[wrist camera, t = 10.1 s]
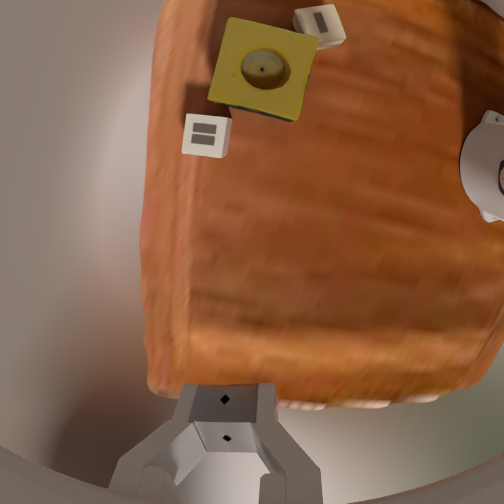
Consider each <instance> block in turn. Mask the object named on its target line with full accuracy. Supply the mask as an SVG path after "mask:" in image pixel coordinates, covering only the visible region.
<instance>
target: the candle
mask: <svg viewBox="0 0 504 504" xmlns="http://www.w3.org/2000/svg"><path fill="white" fill-rule="evenodd" d="M318 42H319V39H318V38H317V37H315V36H312V35H308V34H302V33H296V32H292V31H289V30H286V29H282V28H278V27H275V26H269V25H265V24H261V23H257V22H253V21H250V20H245V19H240V18H235V17H229V18H228V21H227V23H226V27H225V32H224V35H223V39H222V43H221V48H220V52H219V55H218V59H217V63H216V67H215V70H214V74H213V78H212V82H211V85H210V88H209V92H208V98H207V100H211V101H213V102H215V103H217V104H220V105H223V106H228V107H232V108H237V109H242V110H246V111H251V112H254V113H258V114H261V115H265V116H269V117H275V118H278V119H282V120H285V121H288V122H292V121H297V120H298V118H299V115H300V111H301V107H302V101H303V95H304V91H305V89H306V84H307V80H308V79H309V76H310V75H309V72H310V68H311V64H312V61H313V58H314V56H315V53H316V49H317V46H318Z"/></svg>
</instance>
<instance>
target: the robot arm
mask: <svg viewBox="0 0 504 504" xmlns="http://www.w3.org/2000/svg"><path fill="white" fill-rule="evenodd" d="M495 119H496V120H495ZM460 174H461V180H462V184H463V187H464V189H465V192H466V194H467V195H468V197H469V198H470V200H471V201H472V202H473V203H474V204H475V205H476V206H477V207H478V208H479V210H480V213H481V215H482V218H483V219H484V220H485V221H487V222H493V221H496V220H499V219H500V220H502V221H504V116H503V115H501V114H499V113H497V112H495V111H492V110H487V111H486V112H485V114H484V116H483V118H482V121H481V123H480V124H479V125H478V126H477V127H475V128H474V129H473V130H472V131H471V132H470V134H469V135H468V137H467V138H466V140H465V142H464V145H463V148H462V152H461V158H460ZM206 451H208V452H209V451H211V452H257V454H258V455H259V457H260V458H261V460H262V461H263V463H264V464H265V466H266V467H267V468H268V470H269V472H270V474H264V475H263V476H262V477H261V479H260V492H259V504H323V497H322V485H321V472H320V469H319V467H318V466H317V465H316V464H315V463H314V462H313V461H312V460H311V459H310V457H309V456H308V455H307V454H306V453H305V452H304V451H303V450H302V448H301V447H300V446H299V445H298V444H297V443H296V442H295V440H294V439H293V438H292V437H291V436H290V435H289V433H288V432H287V431H286V430H285V429H284V428H283V426H282V425H281V424H280V423H279V422H278V410H277V398H276V388H275V383H256V384H231V385H209V384H184V386H183V387H182V390H181V393H180V396H179V399H178V403H177V406H176V409H175V413H174V416H173V419H172V421H171V420H168V421H166V422H165V423H164V424H163V425H162V426H160V427H159V428H158V429H157V430H156V431H154V432H153V433H152V434H151V435H149V436H148V437H147V438H145V439H144V440H143V441H142V442H140V443H139V444H138V445H136V446H135V447H134V448H133V449H131V450H130V451H129V452H127V453H126V454H125V455H123V456H122V457H121V458H120V459H119V461H118V464H117V466H116V469H115V472H114V474H113V477H112V480H111V482H110V485H109V488H108V489H104V488H101V487H98V486H95V485H92V484H88V483H86V482H82V481H79V480H77V479H74V478H71V477H68V476H66V475H63V474H61V473H58V472H55V471H53V470H51V469H48V468H46V467H43V466H41V465H39V464H36V463H34V462H32V461H30V460H28V459H26V458H24V457H22V456H20V455H17V454H16V453H14V452H12V451H10V450H8V449H6V448H4V447H2V446H0V504H187V502H188V499H187V497H186V496H185V495H184V494H183V493H182V492H181V490H180V489H179V488H178V487H177V485H178V484H179V483H180V482H181V481H182V480H183V479H184V478H185V477H186V476H187V474H188V473H189V472H190V471H191V470H192V469H193V468H194V467H195V466H196V464H198V462H199V461H200V460H201V459H202V458H203V457H204V456H205V454H206V453H207V452H206ZM348 504H504V453H503V454H501V455H499V456H497V457H495V458H493V459H491V460H489V461H487V462H485V463H483V464H480V465H478V466H476V467H473V468H471V469H469V470H467V471H464V472H461V473H459V474H456V475H454V476H451V477H448V478H446V479H443V480H440V481H437V482H434V483H431V484H428V485H425V486H422V487H418V488H415V489H412V490H408V491H404V492H401V493H397V494H393V495H389V496H384V497H380V498H376V499H370V500H366V501H360V502H354V503H348Z"/></svg>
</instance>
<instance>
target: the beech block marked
mask: <svg viewBox="0 0 504 504" xmlns="http://www.w3.org/2000/svg"><path fill="white" fill-rule="evenodd" d="M292 23H293V25H294V28H295V31H296V33H302V34H308V35H312V36H315V37H317V38H318V39H319V42H318V46H317V49H316V50H321V49H327V48H334V47H339V46H340V44H341V43H342V42H343V41H344V40H345V39H346V35H345V32H344V29H343V27H342V24H341V21H340V19H339V16H338V14H337V11H336V9H335V6H334V4H330V5H322V6H315V7H308V8H302V9H296V10H295V11H294V16H293V20H292Z"/></svg>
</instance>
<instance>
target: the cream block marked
mask: <svg viewBox="0 0 504 504" xmlns="http://www.w3.org/2000/svg"><path fill="white" fill-rule="evenodd" d="M231 124H232V119H231V118H226V117H218V116H208V115H198V114H186V122H185V129H184V137H183V145H182V153H184V154H193V155H201V156H209V157H217V158H222V157H224V156H226V155H227V151H228V144H229V137H230V131H231Z"/></svg>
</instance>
